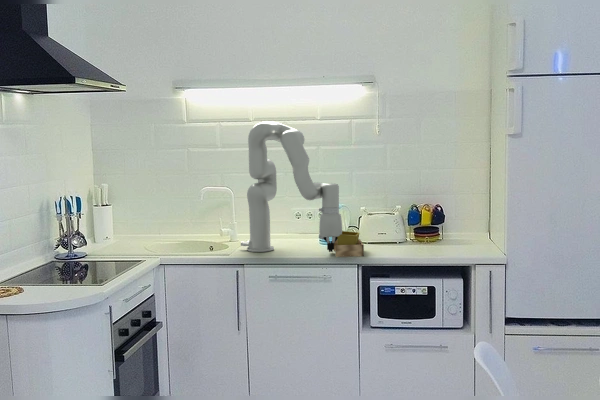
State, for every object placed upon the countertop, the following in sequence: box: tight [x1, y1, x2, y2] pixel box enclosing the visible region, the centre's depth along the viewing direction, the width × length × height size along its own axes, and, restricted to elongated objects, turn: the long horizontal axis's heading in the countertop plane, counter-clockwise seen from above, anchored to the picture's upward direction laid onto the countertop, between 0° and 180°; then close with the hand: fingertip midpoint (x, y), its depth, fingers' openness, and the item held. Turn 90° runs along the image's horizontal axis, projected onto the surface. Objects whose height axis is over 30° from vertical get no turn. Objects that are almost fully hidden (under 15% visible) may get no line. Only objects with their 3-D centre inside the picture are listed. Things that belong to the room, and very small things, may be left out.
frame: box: [333, 239, 365, 258], centre depth 292 cm, size 12×15×5 cm
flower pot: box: [337, 230, 360, 245], centre depth 293 cm, size 9×9×9 cm
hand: (330, 251), depth 292 cm, fingers closed
